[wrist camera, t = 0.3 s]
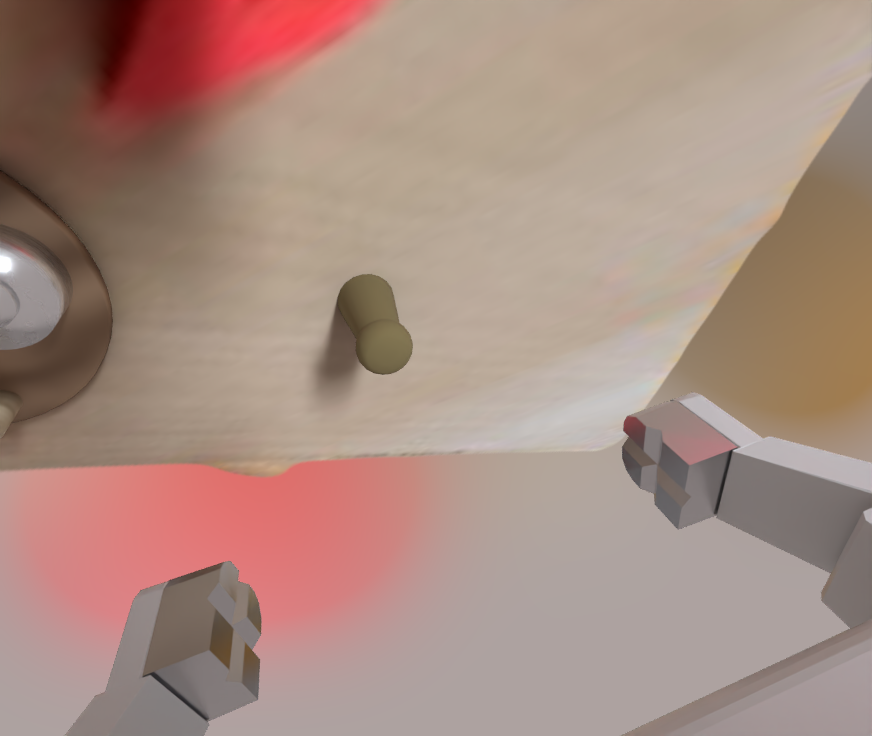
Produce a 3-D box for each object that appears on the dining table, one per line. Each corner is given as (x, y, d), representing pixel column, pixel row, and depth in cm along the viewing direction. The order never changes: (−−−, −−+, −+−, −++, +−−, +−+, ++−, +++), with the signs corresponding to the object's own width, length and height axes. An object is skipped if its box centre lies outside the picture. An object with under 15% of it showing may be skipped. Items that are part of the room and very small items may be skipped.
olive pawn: (353, 333, 50) (372, 394, 42) (327, 290, 46) (342, 348, 38) (402, 309, 50) (430, 365, 42) (379, 264, 47) (406, 316, 38)
